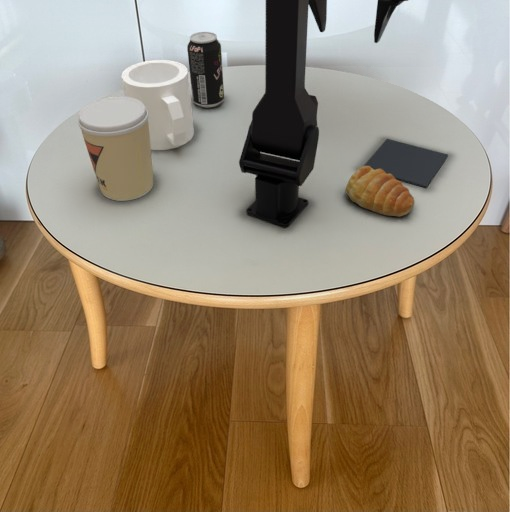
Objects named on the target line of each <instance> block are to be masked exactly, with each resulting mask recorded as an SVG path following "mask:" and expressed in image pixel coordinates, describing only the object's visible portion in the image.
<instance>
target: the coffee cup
mask: <svg viewBox="0 0 510 512" xmlns="http://www.w3.org/2000/svg"><path fill="white" fill-rule="evenodd" d="M148 117H149V114H148V110H147V108H146V107H145V106H144V104H143V103H142V102H141V101H139V100H137V99H134V98H130V97H125V96H117V95H116V96H110V97H103V98H99V99H95V100H93V101H91V102H89V103H87V104H86V105H84V106H83V107H81V109H80V111H79V112H78V117H77V124H78V127H79V129H80V131H81V134H82V137H83V140H84V144H85V146H86V150H87V153H88V157H89V159H90V162H91V165H92V168H93V171H94V175H95V178H96V182H97V183H98V186H99V189H100V192H101V194H102V195H103V196H104V197H106V199H109V200H112V201H118V202H127V201H133V200H136V199H137V200H138V199H139V198H142V197H143V196H146V195H147V194H148V193H149V192H150V191H151V190H152V188H153V187H154V171H153V158H152V150H151V145H150V134H149V124H148Z"/></svg>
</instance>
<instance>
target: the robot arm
mask: <svg viewBox="0 0 510 512" xmlns="http://www.w3.org/2000/svg"><path fill="white" fill-rule="evenodd" d="M407 1H409V0H377V2H376V3H377V5H376V11H375V12H376V13H375V23H374V31H373V39H374V40H373V42H374V44H378V43H379V42H380V40H381V38H382V37H383V34H384V33H385V31H386V28H387V25H388V24H389V21H390V19H391V18H392V15H393V13H394V12H395V10H396V8H397V7H399V6H400V5H401V4H403V3H404V2H407ZM309 8H310V10H311V14H312V15H313V18H314V20H315V23H316V26H317V28H318V30H319V33H324V32H325V31H326V28H327V19H328V18H327V14H328V13H327V11H328V0H265V54H264V55H265V56H264V57H265V63H264V64H265V65H264V66H265V67H264V68H265V71H264V73H265V74H264V75H265V78H264V79H265V80H264V81H265V83H264V84H265V90H264V94H263V96H262V97H261V98H260V99H259V101H258V102H257V105H256V106H255V108H254V109H253V110H252V114H251V120H250V121H251V122H250V124H249V126H248V130H247V134H246V137H245V141H244V144H243V147H242V151H241V154H240V157H239V161H238V165H239V168H240V172H241V173H243V174H250V175H255V178H254V190H255V191H254V194H255V197H254V198H255V200H254V201H253V202H252V203H251V204H250V205H249V206H248V207H247V208H246V209H245V210H246V211H245V212H246V215H249V216H252V217H255V218H257V219H260V220H262V221H266V222H268V223H271V224H274V225H277V226H280V227H283V228H287V227H289V226H290V225H291V224H292V223H293V222H294V221H295V219H297V217H298V216H299V215H300V214H301V213H302V212H303V211H304V209H306V208H307V206H308V205H309V200H308V199H306V198H303V197H300V187H302V186H303V184H304V183H305V182H306V180H307V179H308V177H310V174H311V173H312V172H313V170H314V167H315V163H316V157H317V150H318V145H319V139H320V128H319V127H318V110H319V109H318V107H319V101H318V98H317V96H316V95H314V94H309V93H308V90H307V89H306V65H307V48H308V47H307V45H308V41H307V40H308V25H309V24H308V23H309V22H308V21H309Z"/></svg>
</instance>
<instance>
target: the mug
mask: <svg viewBox="0 0 510 512" xmlns="http://www.w3.org/2000/svg"><path fill="white" fill-rule="evenodd" d="M188 69H189V68H187V67H186V65H185V64H183V63H180V62H179V61H176V60H171V59H170V60H169V59H152V60H151V59H150V60H145V61H140V62H137V63H134V64H132V65H129V66H128V67H126V68H125V69H124V71H122V73H121V82H122V87H123V93H124V97H130V98H134V99H137V100H139V101H141V102H142V103H143V104H144V106H145V107H146V108H147V110H148V114H149V117H148V124H149V134H150V145H151V151H167V150H168V151H169V150H171V149H172V150H173V149H176V148H180V147H182V146H184V145H186V144H187V143H189V142H190V141H192V138H193V137H194V135H195V129H194V128H195V127H194V119H193V108H192V97H191V90H190V88H191V87H190V81H189V80H190V79H189V78H190V77H189V71H188Z"/></svg>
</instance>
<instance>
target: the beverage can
mask: <svg viewBox="0 0 510 512" xmlns="http://www.w3.org/2000/svg"><path fill="white" fill-rule="evenodd" d="M186 48H187V58H188V69H189V78H190V79H189V80H190V88H191V100H192V102H193V103H194V104H195V105H197V106H199V107H201V108H209V109H210V108H214V107H217V106H219V105H220V104H222V103H223V101H225V89H224V87H225V86H224V73H223V72H224V71H223V57H222V56H223V55H222V44H221V42H220V41H219V40H218V36H217V33H214V32H211V31H199V32H195V33H192V34H191V35H190V36H189V42H188V44H187V47H186Z"/></svg>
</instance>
